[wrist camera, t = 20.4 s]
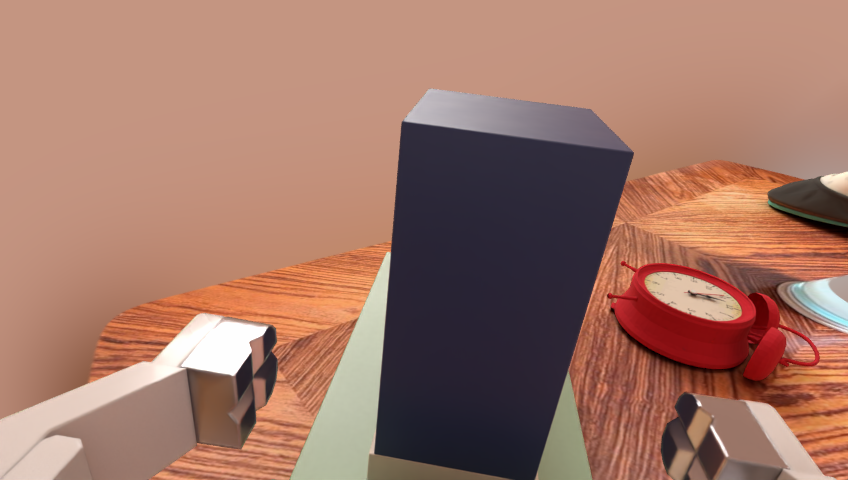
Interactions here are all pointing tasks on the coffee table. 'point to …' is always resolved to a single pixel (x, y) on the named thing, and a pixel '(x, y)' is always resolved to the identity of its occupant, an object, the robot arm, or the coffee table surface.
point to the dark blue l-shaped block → (488, 281)
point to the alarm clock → (703, 320)
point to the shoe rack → (358, 405)
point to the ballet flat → (815, 199)
